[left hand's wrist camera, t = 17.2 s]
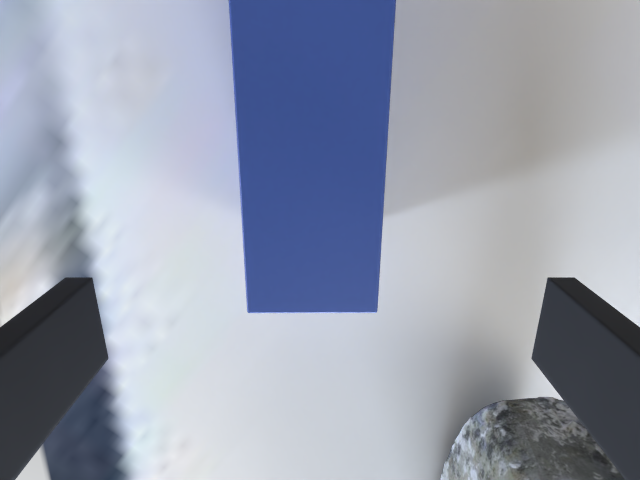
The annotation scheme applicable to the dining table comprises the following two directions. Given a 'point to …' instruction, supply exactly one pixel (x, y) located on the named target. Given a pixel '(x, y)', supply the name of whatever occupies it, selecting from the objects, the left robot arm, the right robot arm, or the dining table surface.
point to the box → (312, 149)
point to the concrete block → (527, 445)
